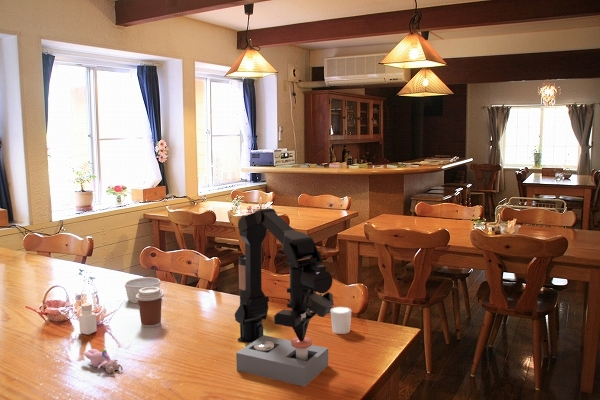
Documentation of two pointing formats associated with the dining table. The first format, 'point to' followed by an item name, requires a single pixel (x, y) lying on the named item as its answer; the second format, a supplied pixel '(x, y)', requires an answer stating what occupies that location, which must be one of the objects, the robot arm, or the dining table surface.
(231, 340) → the dining table surface
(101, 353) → the rabbit figure
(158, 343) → the dining table surface
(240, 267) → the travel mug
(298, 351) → the red button
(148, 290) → the coffee cup
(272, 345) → the metal button
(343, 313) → the white cup
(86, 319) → the pepper shaker
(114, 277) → the dining table surface
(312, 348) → the console
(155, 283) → the ramekin
